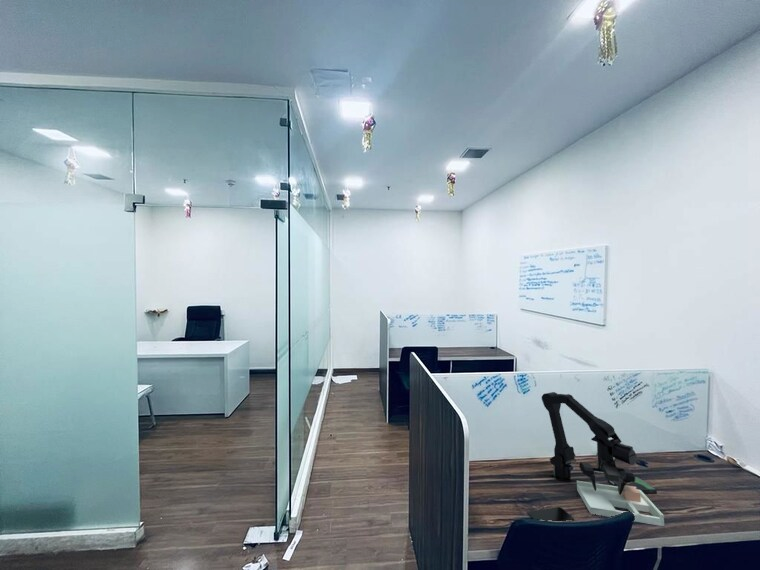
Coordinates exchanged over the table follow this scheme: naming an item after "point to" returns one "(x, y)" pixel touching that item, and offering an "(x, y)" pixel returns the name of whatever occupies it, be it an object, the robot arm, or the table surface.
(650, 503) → the box
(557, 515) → the smartphone
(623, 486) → the robot arm
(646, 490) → the disk drive
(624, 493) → the terracotta block
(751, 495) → the table surface
